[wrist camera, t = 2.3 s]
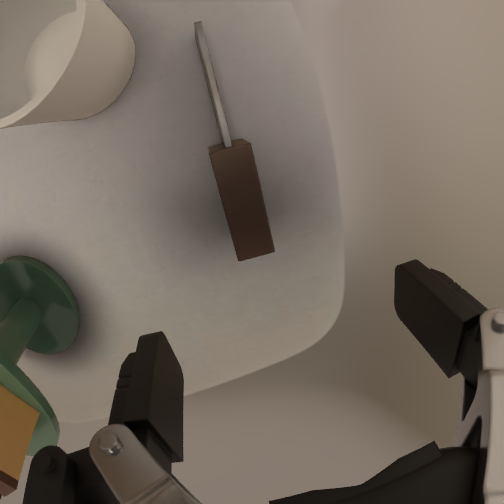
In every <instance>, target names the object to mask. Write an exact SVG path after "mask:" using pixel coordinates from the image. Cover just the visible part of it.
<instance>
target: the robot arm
mask: <svg viewBox="0 0 504 504" xmlns="http://www.w3.org/2000/svg"><path fill="white" fill-rule="evenodd" d="M394 293H395V294H394V305H395V310H396V313H397V315H398V317H399V318H400V320H401V321H402V322H403V323H404V325H405V326H406V327H407V328H408V329H409V330H410V332H411V333H412V334H413V335H414V336H415V338H416V339H417V340H418V341H419V342H420V343H421V345H422V346H423V347H424V348H425V350H426V351H427V352H428V353H429V354H430V356H431V357H432V358H433V359H434V361H435V362H436V363H437V364H438V365H439V367H440V368H441V369H442V371H443V372H444V373H445V374H446V376H447V377H448V378H450V377H452V376H454V375H456V374H457V373H459V372H461V374H462V375H463V379H462V383H461V396H460V409H459V419H458V427H457V432H456V435H455V438H454V441H453V444H452V447H447V448H441V449H439V448H438V446H437V444H436V443H435V441H433V442H431V443H429V444H427V445H426V446H424V447H422V448H420V449H418V450H416V451H414V452H412V453H410V454H408V455H405V456H403V457H401V458H399V459H397V460H396V461H395V462H393V463H392V464H391V465H389V466H388V467H387V468H385V469H384V470H382V471H381V472H380V473H378V474H377V475H376V476H374V477H373V478H371V479H369V480H368V481H366V482H365V483H363V484H361V485H357V486H351V487H344V488H335V489H323V490H312V491H309V492H305V493H301V494H297V495H294V496H290V497H285V498H281V499H277V500H273V501H269V504H504V309H503V308H491V309H487V308H486V307H484V306H483V305H482V304H481V303H480V302H479V301H478V300H476V299H475V298H474V297H473V296H472V295H470V294H469V293H468V292H467V291H466V290H464V289H461V286H459V285H458V284H457V283H456V282H455V283H454V281H453V280H452V279H451V278H449V277H448V276H447V275H445V274H444V273H442V272H439V271H437V270H434V269H429V268H427V267H426V266H425V265H424V264H422V263H421V262H419V261H418V260H412V261H409V262H406V263H403V264H400V265H397V266H396V268H395V292H394ZM116 387H117V389H116V390H115V395H114V399H113V404H112V408H111V413H110V418H109V423H108V426H105V427H103V428H102V429H100V430H99V431H98V432H97V433H96V434H95V435H94V436H93V438H92V440H91V442H90V445H89V447H87V448H85V449H82V450H79V451H76V452H73V453H70V454H66V453H65V452H64V451H63V450H62V449H61V448H60V447H57V446H55V445H50V446H45V447H43V448H42V449H40V450H39V451H38V452H37V453H36V454H35V455H34V457H33V459H32V461H31V465H30V470H29V474H28V478H27V483H26V488H25V493H24V499H23V504H202V503H201V502H200V501H199V500H198V499H197V498H195V497H194V496H193V495H192V494H191V493H190V492H189V491H188V490H187V489H186V488H185V487H184V486H183V485H182V484H181V483H180V482H179V481H178V480H177V479H176V477H175V476H173V474H172V473H171V463H174V462H183V390H184V379H183V373H182V369H181V366H180V364H179V362H178V360H177V358H176V356H175V354H174V352H173V350H172V348H171V346H170V344H169V342H168V340H167V338H166V336H165V334H164V333H163V332H162V331H160V332H156V333H151V334H147V335H142V336H140V337H139V340H138V344H137V349H136V352H134V353H130V354H129V355H128V356H127V358H126V359H125V361H124V362H123V364H122V365H121V369H120V373H119V379H118V382H117V386H116Z"/></svg>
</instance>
